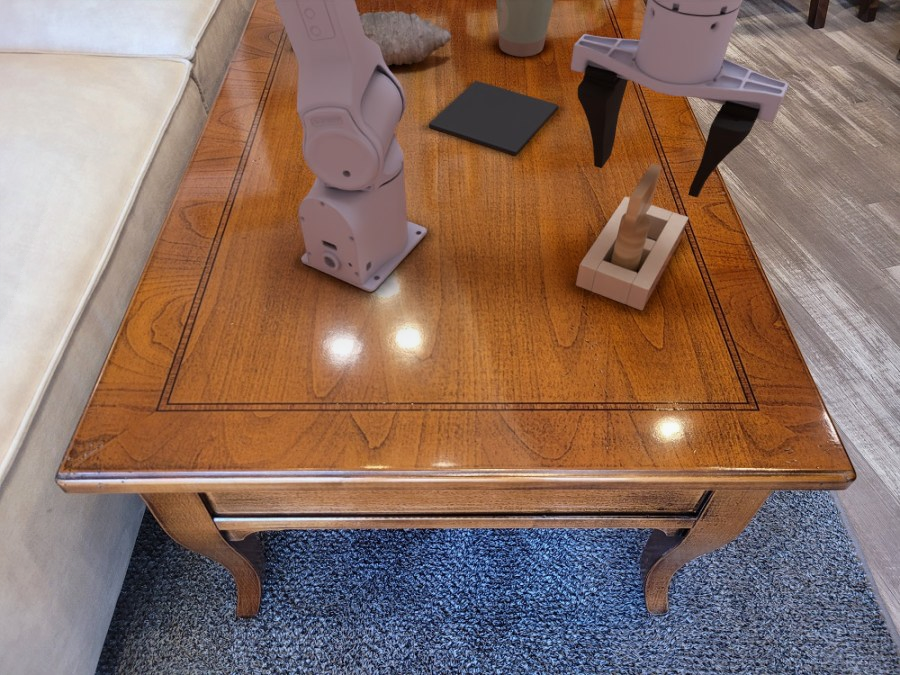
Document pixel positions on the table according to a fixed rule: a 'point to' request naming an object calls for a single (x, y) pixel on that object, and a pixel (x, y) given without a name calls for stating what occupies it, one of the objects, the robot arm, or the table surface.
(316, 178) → the robot arm
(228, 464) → the table surface
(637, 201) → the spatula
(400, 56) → the seashell
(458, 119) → the mat
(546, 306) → the table surface
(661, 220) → the frame
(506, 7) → the coffee cup
